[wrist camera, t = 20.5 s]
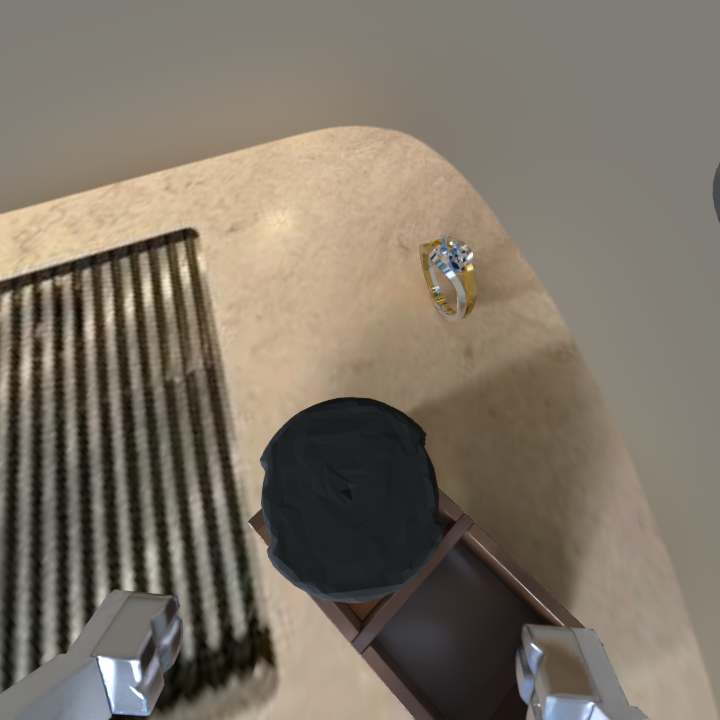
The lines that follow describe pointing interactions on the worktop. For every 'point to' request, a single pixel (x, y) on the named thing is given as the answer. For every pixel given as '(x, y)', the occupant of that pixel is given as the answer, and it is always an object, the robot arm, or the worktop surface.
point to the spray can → (350, 500)
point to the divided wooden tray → (450, 626)
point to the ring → (450, 274)
